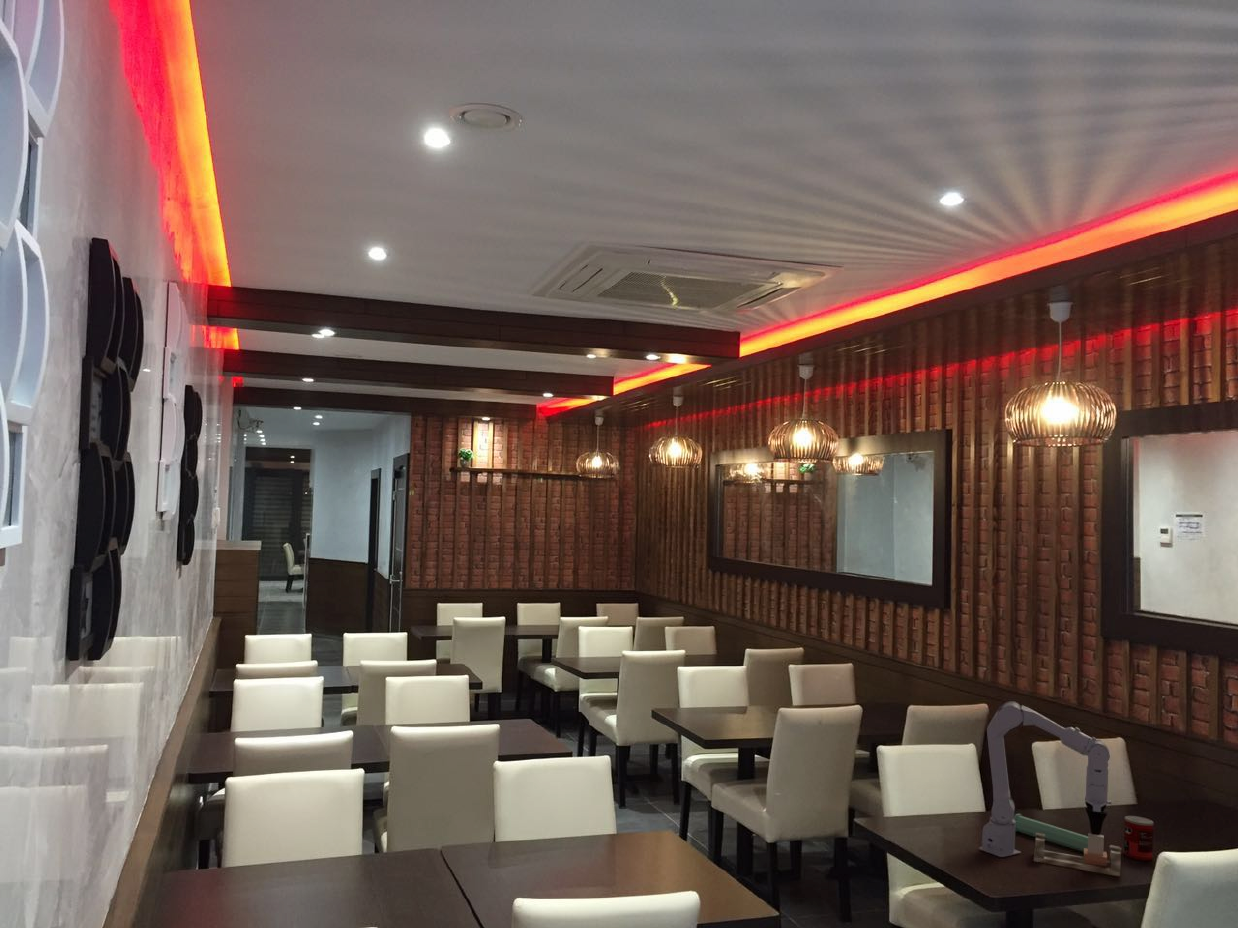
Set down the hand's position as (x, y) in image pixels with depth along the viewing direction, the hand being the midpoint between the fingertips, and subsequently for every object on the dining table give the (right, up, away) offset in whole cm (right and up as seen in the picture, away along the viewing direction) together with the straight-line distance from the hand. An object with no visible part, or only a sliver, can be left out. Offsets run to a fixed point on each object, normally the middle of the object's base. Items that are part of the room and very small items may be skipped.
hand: (1095, 831), depth 295 cm
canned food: (+19, -13, +13) cm, 26 cm away
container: (-3, -12, +23) cm, 26 cm away
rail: (-5, -10, +1) cm, 11 cm away
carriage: (0, -9, -1) cm, 9 cm away
